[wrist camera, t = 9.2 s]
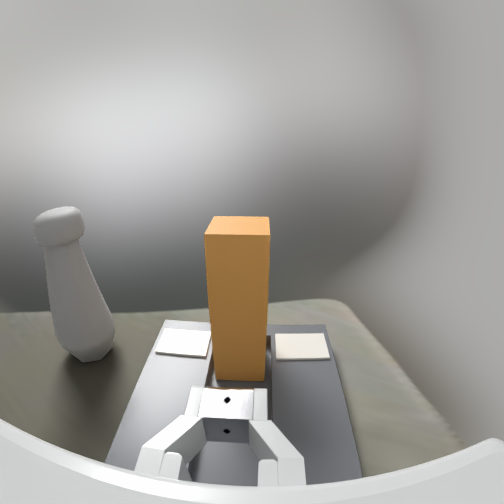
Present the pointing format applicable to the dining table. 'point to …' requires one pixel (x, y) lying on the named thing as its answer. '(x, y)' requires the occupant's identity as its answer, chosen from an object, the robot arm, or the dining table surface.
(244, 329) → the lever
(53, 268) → the salt shaker
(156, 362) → the panel
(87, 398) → the dining table surface
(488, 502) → the robot arm
